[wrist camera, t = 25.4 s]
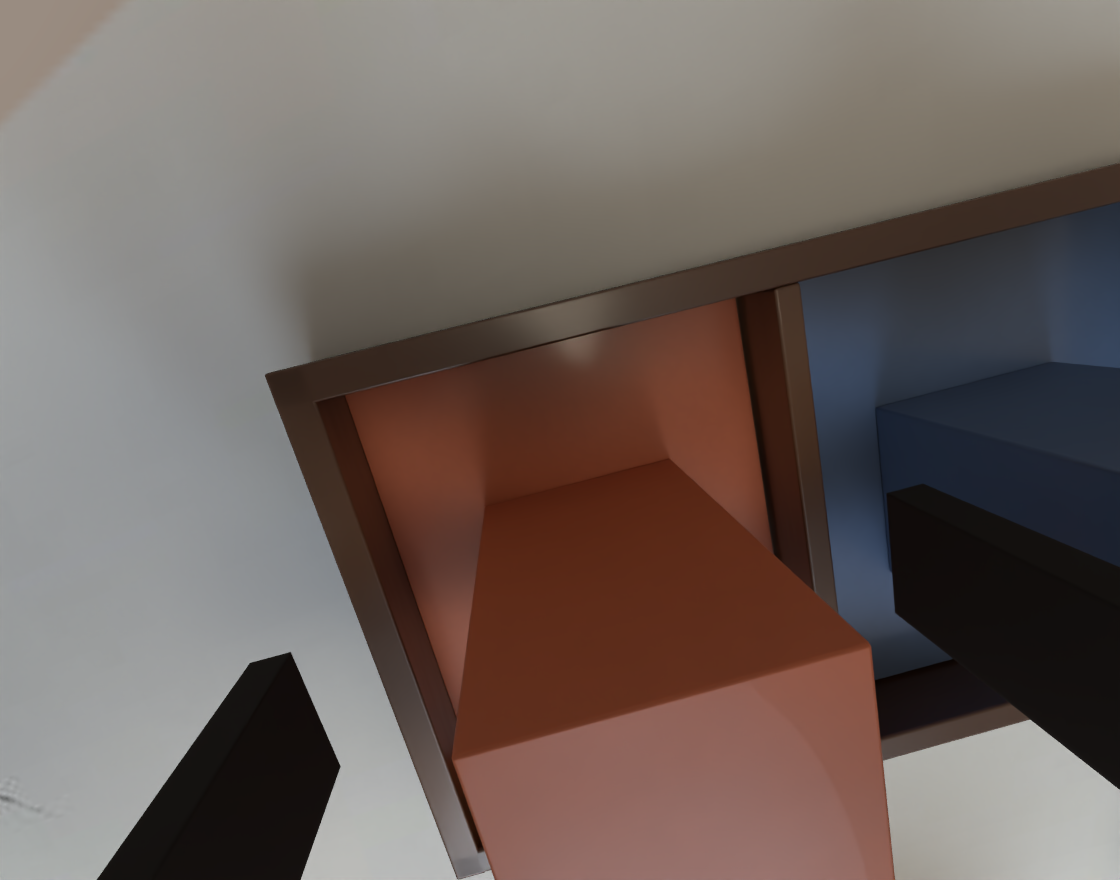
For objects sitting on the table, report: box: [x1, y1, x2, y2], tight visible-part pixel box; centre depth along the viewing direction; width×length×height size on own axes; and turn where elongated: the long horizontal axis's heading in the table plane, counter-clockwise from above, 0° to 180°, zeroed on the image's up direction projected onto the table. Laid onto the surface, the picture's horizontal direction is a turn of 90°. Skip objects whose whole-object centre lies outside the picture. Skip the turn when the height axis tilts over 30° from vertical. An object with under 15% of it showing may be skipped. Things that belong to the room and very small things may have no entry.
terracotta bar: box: [451, 459, 895, 880], centre depth 11 cm, size 5×5×8 cm
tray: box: [265, 163, 1120, 879], centre depth 14 cm, size 14×22×3 cm, turn 103°
